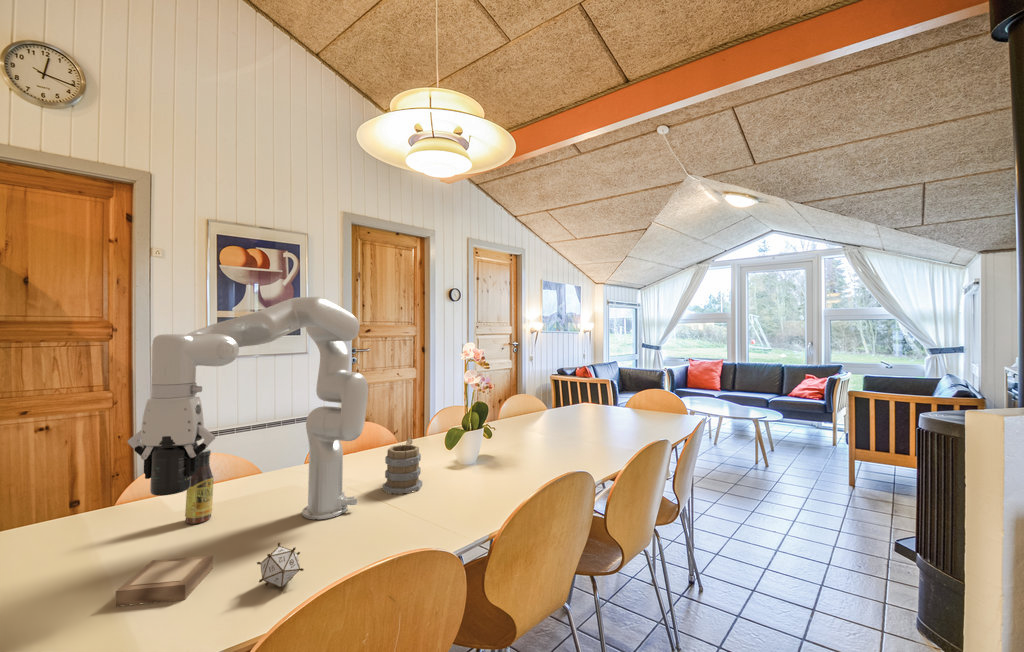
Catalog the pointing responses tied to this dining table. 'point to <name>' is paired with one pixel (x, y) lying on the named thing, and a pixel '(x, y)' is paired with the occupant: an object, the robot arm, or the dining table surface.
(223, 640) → the dining table surface
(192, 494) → the sauce bottle
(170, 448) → the supplement bottle
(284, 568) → the game die
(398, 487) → the tankard
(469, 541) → the dining table surface
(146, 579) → the walnut base
